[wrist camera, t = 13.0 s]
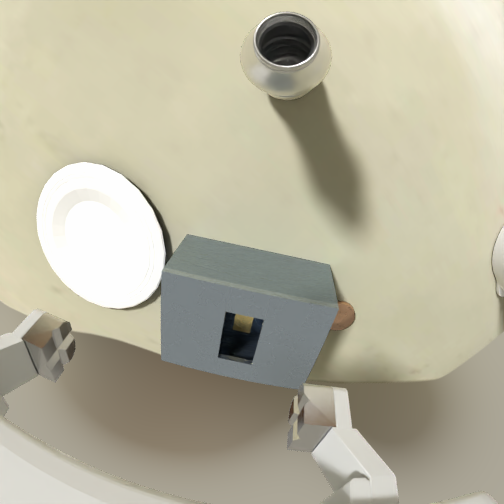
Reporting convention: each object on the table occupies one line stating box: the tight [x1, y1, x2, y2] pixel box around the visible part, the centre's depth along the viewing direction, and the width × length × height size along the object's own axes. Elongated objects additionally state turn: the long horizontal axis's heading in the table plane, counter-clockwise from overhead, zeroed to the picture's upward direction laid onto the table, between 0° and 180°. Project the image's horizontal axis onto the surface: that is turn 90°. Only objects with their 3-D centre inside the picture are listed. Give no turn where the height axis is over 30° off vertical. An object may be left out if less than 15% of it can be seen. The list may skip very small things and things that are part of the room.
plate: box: [37, 162, 166, 309], centre depth 44 cm, size 25×25×2 cm
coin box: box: [161, 234, 339, 389], centre depth 41 cm, size 20×15×10 cm
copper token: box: [330, 301, 355, 330], centre depth 45 cm, size 5×5×1 cm
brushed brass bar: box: [233, 314, 253, 333], centre depth 43 cm, size 2×5×5 cm, turn 169°
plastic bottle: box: [240, 12, 332, 100], centre depth 22 cm, size 6×7×20 cm
